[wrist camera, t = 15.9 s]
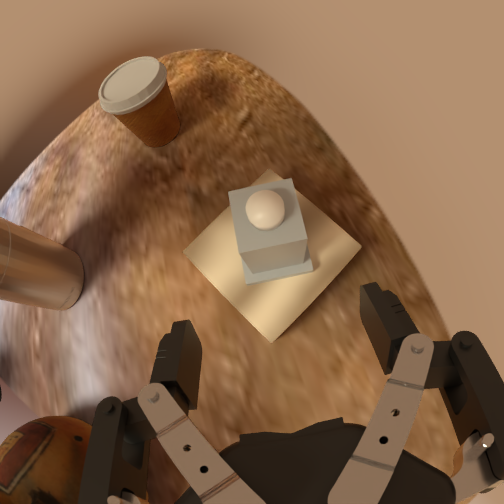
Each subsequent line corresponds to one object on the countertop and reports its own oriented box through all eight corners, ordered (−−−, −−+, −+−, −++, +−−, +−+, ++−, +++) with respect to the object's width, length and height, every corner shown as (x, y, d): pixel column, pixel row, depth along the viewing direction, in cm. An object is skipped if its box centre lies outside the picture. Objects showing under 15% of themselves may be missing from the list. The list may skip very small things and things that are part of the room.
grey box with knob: (247, 285, 29) (225, 263, 19) (236, 224, 31) (212, 177, 21) (312, 272, 29) (323, 242, 19) (297, 211, 30) (299, 158, 21)
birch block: (196, 262, 36) (182, 251, 31) (272, 188, 37) (269, 168, 32) (274, 341, 32) (271, 343, 27) (352, 258, 33) (361, 246, 29)
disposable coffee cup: (177, 159, 39) (141, 105, 28) (124, 154, 41) (83, 108, 30) (199, 108, 41) (175, 51, 30) (148, 107, 43) (117, 58, 32)
